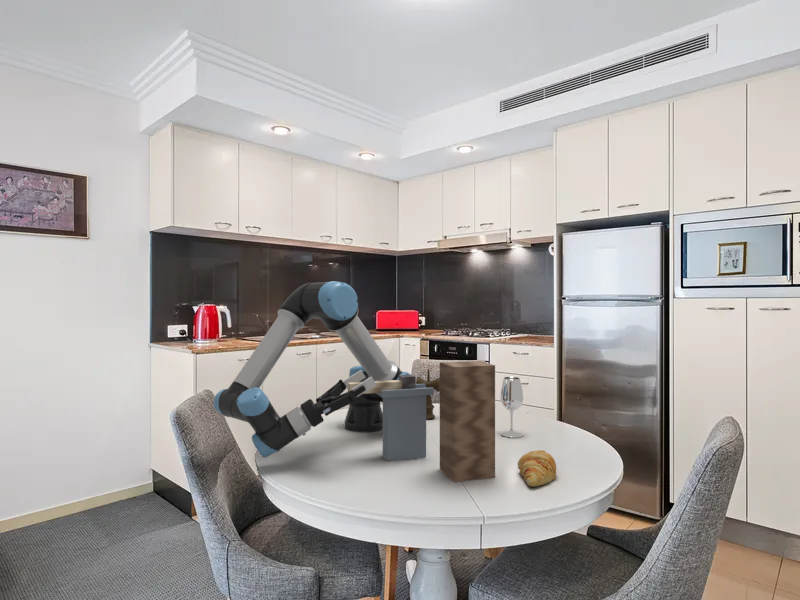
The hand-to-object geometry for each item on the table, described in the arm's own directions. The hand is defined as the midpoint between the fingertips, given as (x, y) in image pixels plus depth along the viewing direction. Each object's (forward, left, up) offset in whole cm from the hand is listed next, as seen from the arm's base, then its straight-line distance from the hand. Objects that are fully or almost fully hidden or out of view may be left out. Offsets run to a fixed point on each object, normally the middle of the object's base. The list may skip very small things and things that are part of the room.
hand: (368, 376), depth 147 cm
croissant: (+46, -15, -25) cm, 54 cm away
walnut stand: (+27, -12, -25) cm, 39 cm away
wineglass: (+49, +25, -25) cm, 61 cm away
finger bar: (+4, +1, -5) cm, 6 cm away
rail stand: (+11, +3, -25) cm, 27 cm away
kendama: (+22, +50, -25) cm, 60 cm away
